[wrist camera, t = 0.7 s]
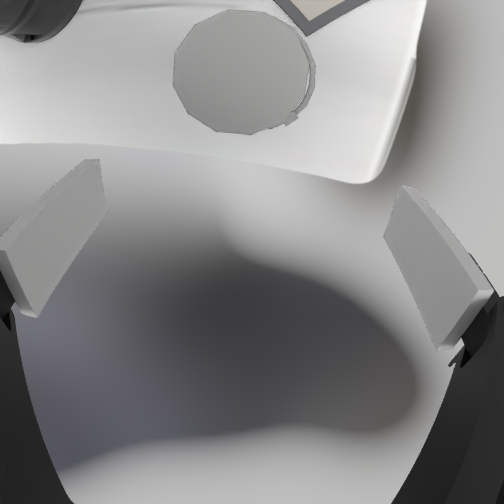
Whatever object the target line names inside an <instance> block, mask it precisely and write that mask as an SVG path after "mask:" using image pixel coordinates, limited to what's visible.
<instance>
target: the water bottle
mask: <svg viewBox="0 0 504 504" xmlns="http://www.w3.org/2000/svg"><path fill="white" fill-rule="evenodd" d="M302 47H303V48H302ZM303 49H304V50H303ZM304 51H305V52H304ZM305 53H306V54H305ZM306 55H307V57H306ZM309 68H310V80H309V86H308V90H307V93H306V95H305V91H306V84H307V77H308V71H309ZM315 68H316V65H315V63H314V60H313V58H312V55H311V53H310V50H309V48H308V45H307V44H306V42H305V41H304V40H303V39H302V37H301V36H300V35H299V34H298V32H297V31H296V30H295V29H294V28H293V27H292V26H290V25H288V24H286V23H285V22H283V21H281V20H279V19H277V18H276V17H273V16H270V15H269V14H267V13H265V12H256V11H243V10H226V11H224V12H221V13H219V14H217V15H215V16H212V17H210V18H208V19H206V20H204V21H202V22H200V23H198V24H196V25H194V27H193V28H192V29H191V31H190V32H189V33H188V35H187V36H186V38H185V39H184V40H183V42H182V43H181V45H180V46H179V48H178V49H177V50H176V52H175V58H174V72H173V87H174V89H175V90H176V92H177V94H178V96H179V98H180V100H181V102H182V104H183V106H184V107H185V109H186V111H187V113H188V114H189V115H191V116H192V117H194V118H195V119H197V120H199V121H200V122H202V123H203V124H205V125H206V126H208V127H209V128H211V129H213V130H214V131H216V132H224V133H236V134H246V135H252V134H254V133H257V132H259V131H262V130H264V129H272V128H274V127H277V126H279V125H281V124H283V123H284V124H285V125H286V126H287V125H289V124H290V123H292V122H293V121H295V120H296V119H297V118H298V116H297V114H298V113H299V112H301V111H302V110H303V109H304V108H305V107H306V106H307V104H308V102H309V99H310V97H311V95H312V93H313V90H314V88H315ZM303 98H304V99H303ZM302 99H303V101H302V102H301V103H300V105H299V106H298V107H297V108H296V109H295V110H294V108H295V107H296V106H297V105H298V104H299V102H300V101H301V100H302ZM293 110H294V111H293Z"/></svg>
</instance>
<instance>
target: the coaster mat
mask: <svg viewBox="0 0 504 504" xmlns="http://www.w3.org/2000/svg"><path fill="white" fill-rule="evenodd" d="M274 1H275V2H276V3H277V4H278V5H279V6H280V7H281V8H282V9H283V10H284V11H285V13H286V14H287V15H288V16H289V17H290V18H291V19H292V20H293V21H294V22H295V23H296V25H297V26H298V27H299V28H300V29H301V30H302V31H303V33H304V34H305V35H306V36H308V35H310V34H311V33H313V32H315V31H316V30H318V29H320V28H321V27H323V26H324V25H326V24H328V23H329V22H331V21H333V20H335V19H336V18H338V17H340V16H341V15H343V14H345V13H347V12H349V11H350V10H352V9H354V8H356V7H358V6H360V5H362V4H363V3H365V2H367V1H369V0H274Z"/></svg>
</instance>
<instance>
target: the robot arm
mask: <svg viewBox="0 0 504 504" xmlns="http://www.w3.org/2000/svg"><path fill="white" fill-rule="evenodd" d="M81 1H82V0H0V35H4V36H6V37H9V38H11V39H14V40H16V41H19V42H23V43H33V42H41V41H44V40H47V39H49V38H51V37H52V36H54V35H55V34H57V33H58V32H59V31H60V30H62V29H63V28H64V27H65V26H66V25H67V23H68V22H69V21H70V20H71V18H72V17H73V16H74V14H75V13H76V11H77V9H78V7H79V5H80V3H81ZM106 214H107V209H106V202H105V196H104V190H103V183H102V176H101V168H100V160H99V159H88V160H84V161H83V162H81V163H80V164H79V165H78V166H76V167H75V168H74V169H73V170H71V171H70V172H69V173H68V174H67V175H66V176H64V177H63V178H62V179H61V180H59V181H58V182H57V183H56V184H55V185H54V186H52V187H51V188H50V189H49V190H48V191H47V192H46V193H45V194H43V195H42V196H41V197H40V198H39V199H38V200H37V201H36V202H35V203H34V204H33V205H32V206H31V207H29V208H28V209H27V210H26V211H25V212H24V213H23V214H22V215H21V216H20V217H19V218H18V219H17V220H16V221H15V222H14V223H13V224H12V225H11V226H10V227H9V228H8V229H7V230H6V231H5V232H4V234H3V235H2V236H1V237H0V504H74V503H73V502H72V501H71V500H70V499H69V498H68V495H67V494H66V492H65V490H64V488H63V486H62V484H61V481H60V479H59V477H58V475H57V473H56V470H55V468H54V466H53V463H52V461H51V459H50V456H49V453H48V451H47V449H46V445H45V443H44V440H43V438H42V434H41V431H40V428H39V425H38V422H37V419H36V416H35V413H34V410H33V406H32V403H31V399H30V395H29V391H28V388H27V384H26V379H25V375H24V371H23V366H22V361H21V356H20V350H19V345H18V338H17V332H16V324H15V317H14V314H13V312H12V310H11V307H12V305H13V304H14V302H16V304H17V306H18V308H19V310H20V311H21V313H22V314H24V315H28V316H32V317H36V318H37V317H38V316H39V314H40V312H41V310H42V309H43V307H44V305H45V304H46V302H47V300H48V299H49V297H50V295H51V294H52V292H53V291H54V289H55V287H56V286H57V284H58V283H59V281H60V279H61V278H62V276H63V275H64V273H65V272H66V270H67V269H68V267H69V266H70V264H71V263H72V261H73V259H74V258H75V257H76V255H77V254H78V253H79V251H80V250H81V248H82V247H83V246H84V244H85V243H86V241H87V240H88V238H89V237H90V236H91V234H92V233H93V232H94V230H95V229H96V228H97V226H98V225H99V224H100V222H101V221H102V219H103V218H104V217H105V216H106ZM384 239H385V241H386V243H387V245H388V246H389V249H390V250H391V252H392V254H393V256H394V258H395V260H396V262H397V264H398V266H399V268H400V270H401V272H402V274H403V276H404V278H405V281H406V283H407V285H408V286H409V289H410V291H411V293H412V295H413V297H414V300H415V302H416V304H417V306H418V309H419V311H420V313H421V316H422V318H423V320H424V323H425V325H426V328H427V330H428V332H429V335H430V337H431V340H432V342H433V345H434V347H435V350H436V351H439V350H450V349H452V348H453V347H454V346H455V345H456V343H457V342H458V341H459V340H460V338H462V340H463V342H464V346H463V347H462V349H461V350H460V351H459V352H458V354H457V355H456V356H455V357H454V358H453V359H452V361H451V362H450V363H449V365H448V366H449V367H451V366H452V365H453V363H456V364H455V368H454V371H453V374H452V377H451V380H450V383H449V386H448V388H447V391H446V394H445V397H444V399H443V402H442V404H441V407H440V409H439V412H438V414H437V417H436V419H435V422H434V424H433V426H432V428H431V431H430V433H429V435H428V438H427V439H426V442H425V444H424V446H423V448H422V450H421V452H420V454H419V456H418V458H417V460H416V462H415V464H414V465H413V467H412V469H411V471H410V473H409V475H408V476H407V478H406V480H405V482H404V483H403V485H402V487H401V489H400V490H399V492H398V494H397V495H396V497H395V498H394V500H393V502H392V503H391V504H504V296H502V297H499V295H498V294H497V292H496V290H495V289H494V287H493V286H492V284H491V283H490V281H489V280H488V278H487V277H486V275H485V274H483V271H482V269H481V268H480V267H479V266H478V264H477V262H476V261H475V259H474V258H473V257H472V255H471V254H469V253H468V252H467V250H466V249H465V248H464V246H463V245H462V244H461V243H460V241H459V240H458V239H457V238H456V236H455V235H454V233H453V232H452V231H451V230H450V229H449V227H448V226H447V225H446V224H445V222H444V221H443V220H442V219H441V217H440V216H439V215H438V214H437V213H436V211H435V210H434V209H433V208H432V207H431V206H430V204H429V203H428V202H427V201H426V200H425V199H424V198H423V197H422V195H421V194H420V193H419V192H418V191H417V190H416V189H415V188H413V187H409V186H404V185H400V188H399V191H398V195H397V198H396V201H395V204H394V207H393V210H392V213H391V216H390V219H389V222H388V225H387V228H386V230H385V233H384Z"/></svg>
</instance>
